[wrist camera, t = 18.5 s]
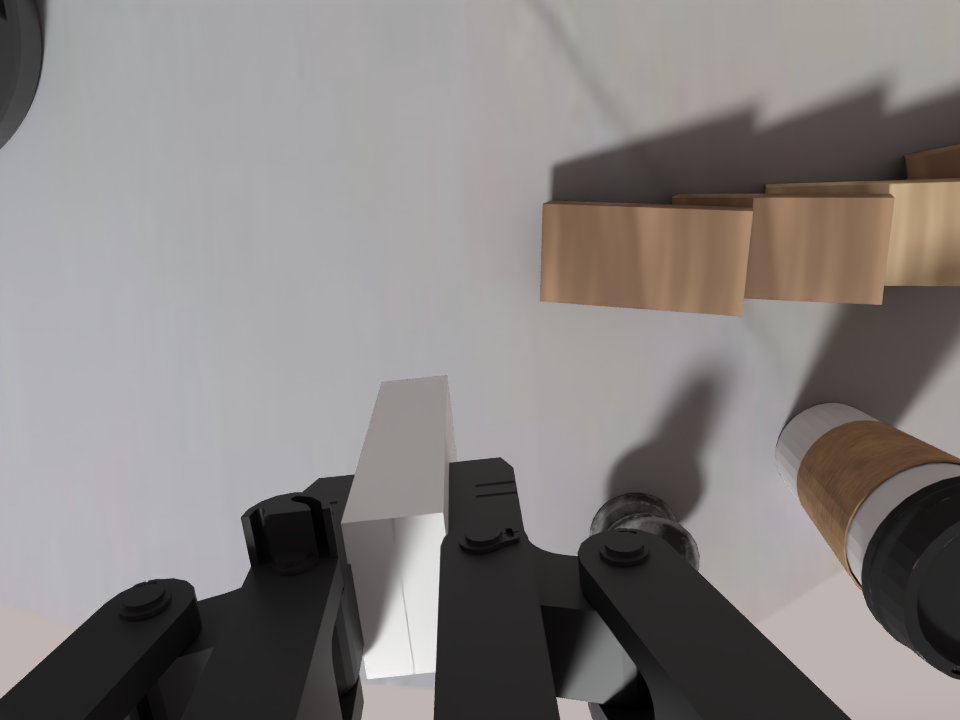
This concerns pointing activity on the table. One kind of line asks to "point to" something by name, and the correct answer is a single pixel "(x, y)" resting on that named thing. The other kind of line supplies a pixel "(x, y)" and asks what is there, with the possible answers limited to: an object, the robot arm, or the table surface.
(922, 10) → the table surface
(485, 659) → the robot arm
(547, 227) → the domino
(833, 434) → the coffee cup
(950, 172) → the domino
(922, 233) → the oak domino
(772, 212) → the domino
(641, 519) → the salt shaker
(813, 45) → the table surface
